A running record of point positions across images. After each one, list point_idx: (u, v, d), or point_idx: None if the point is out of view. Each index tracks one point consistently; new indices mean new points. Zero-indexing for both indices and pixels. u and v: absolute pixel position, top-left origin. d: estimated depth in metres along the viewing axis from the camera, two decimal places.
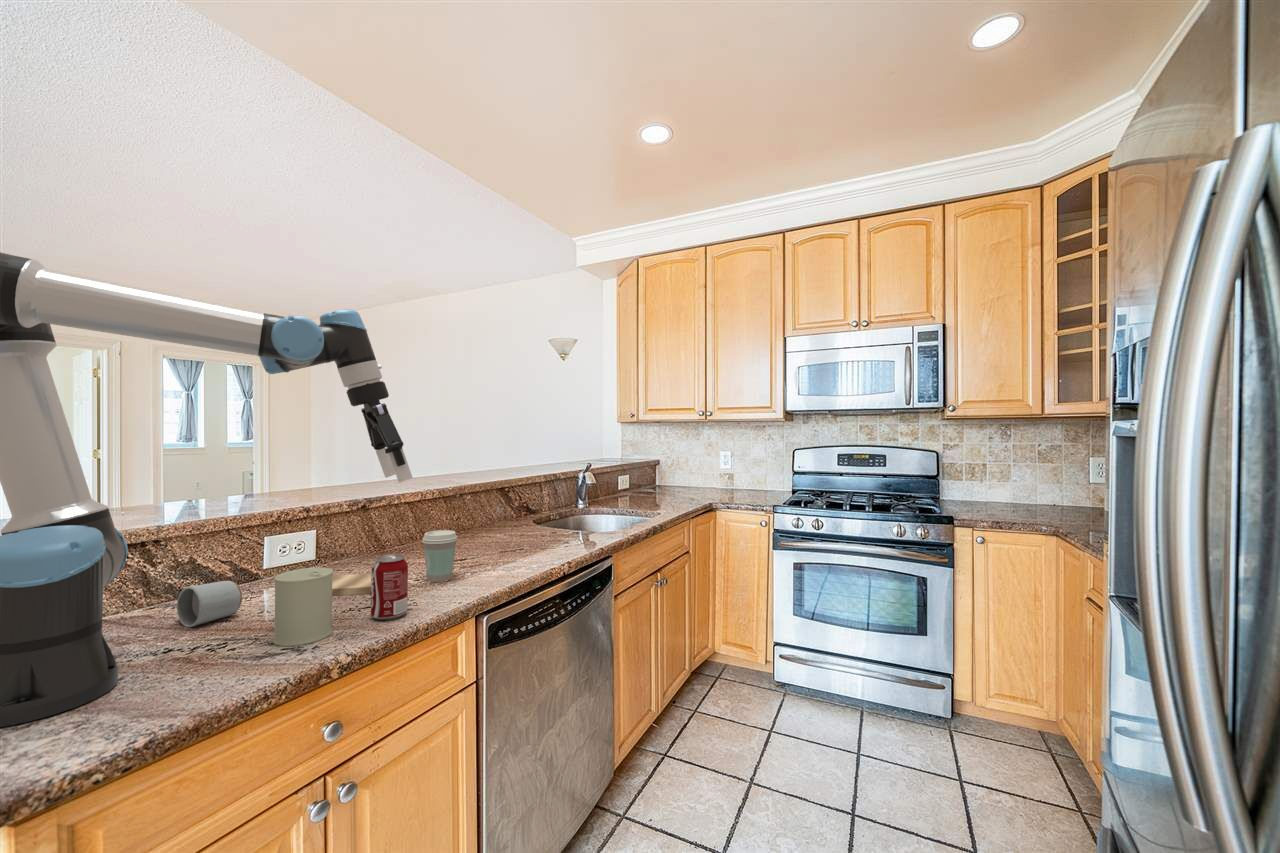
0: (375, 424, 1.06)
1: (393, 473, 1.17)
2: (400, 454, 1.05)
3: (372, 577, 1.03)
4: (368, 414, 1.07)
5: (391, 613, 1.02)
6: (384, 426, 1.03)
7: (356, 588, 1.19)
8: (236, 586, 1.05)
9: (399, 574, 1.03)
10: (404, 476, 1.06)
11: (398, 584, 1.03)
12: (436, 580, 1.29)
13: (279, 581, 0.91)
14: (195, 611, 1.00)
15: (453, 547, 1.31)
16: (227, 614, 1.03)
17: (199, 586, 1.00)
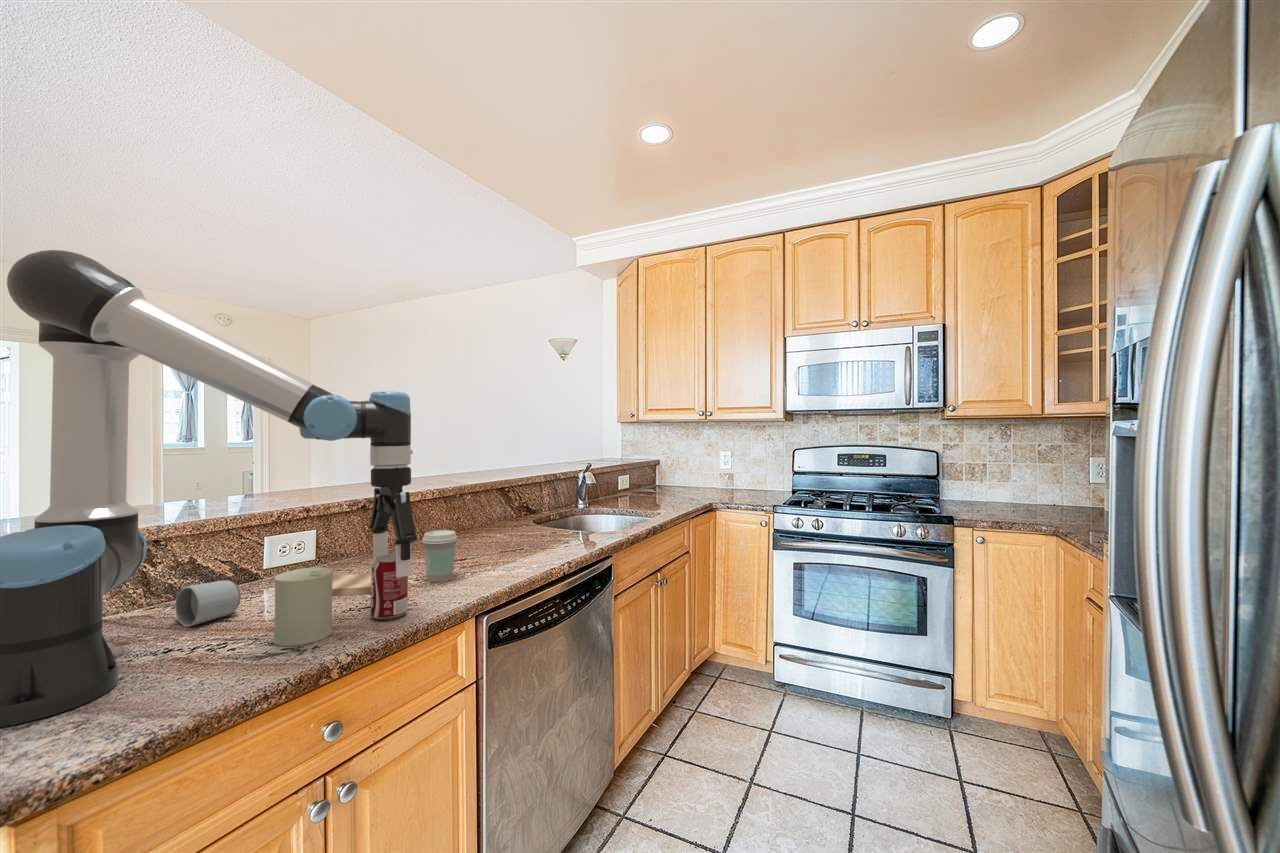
0: (391, 510, 1.02)
1: None
2: (408, 548, 1.00)
3: (372, 577, 1.03)
4: (386, 498, 1.03)
5: (391, 613, 1.02)
6: (402, 516, 0.99)
7: (356, 588, 1.19)
8: (235, 586, 1.05)
9: None
10: (403, 571, 1.00)
11: (398, 584, 1.03)
12: (436, 580, 1.29)
13: (279, 581, 0.91)
14: (194, 611, 1.00)
15: (453, 547, 1.31)
16: (225, 614, 1.03)
17: (198, 586, 1.00)
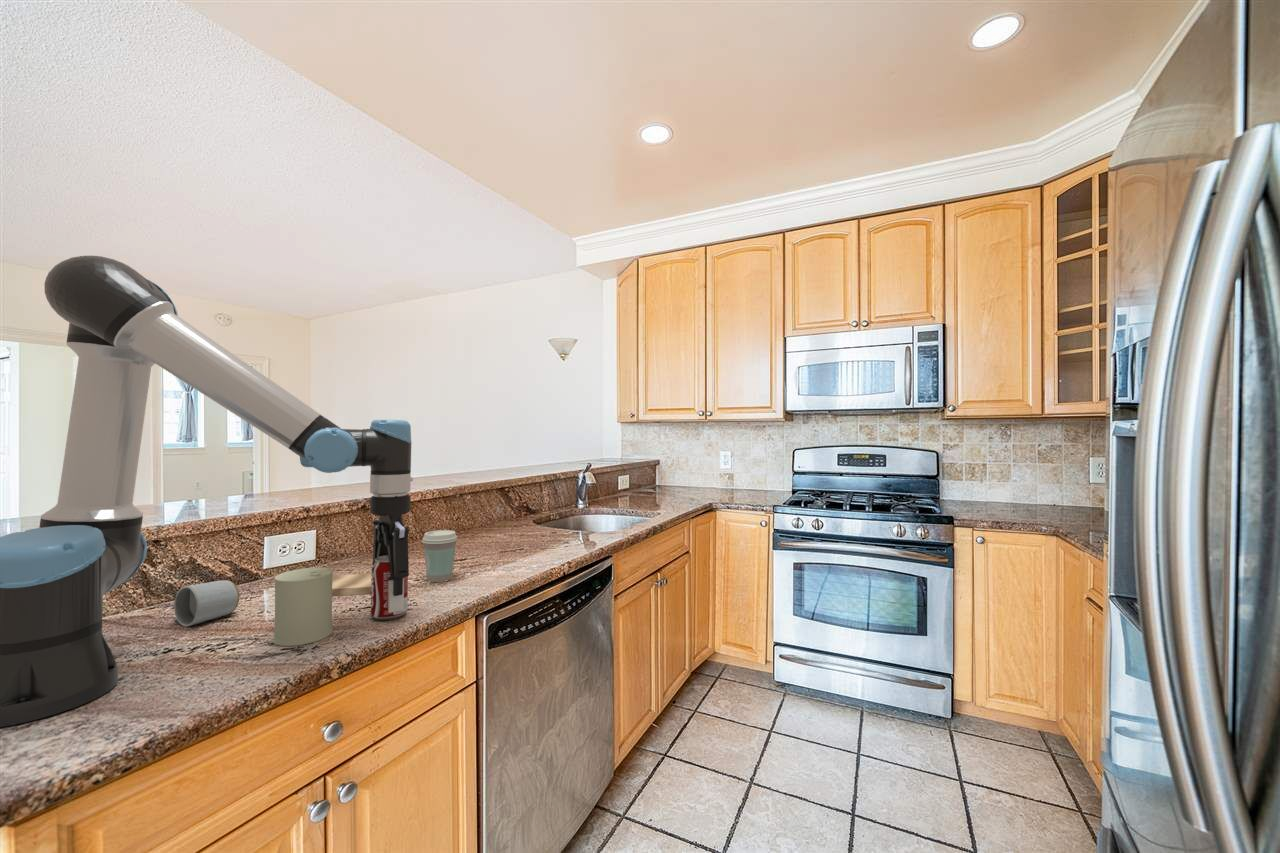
0: (388, 542, 1.02)
1: None
2: (401, 584, 1.02)
3: (372, 577, 1.03)
4: (385, 528, 1.03)
5: (391, 613, 1.02)
6: (398, 552, 1.00)
7: (356, 588, 1.19)
8: (233, 585, 1.05)
9: None
10: (396, 606, 1.02)
11: None
12: (436, 580, 1.29)
13: (279, 581, 0.91)
14: (192, 610, 1.01)
15: (453, 547, 1.31)
16: (224, 613, 1.03)
17: (196, 585, 1.00)
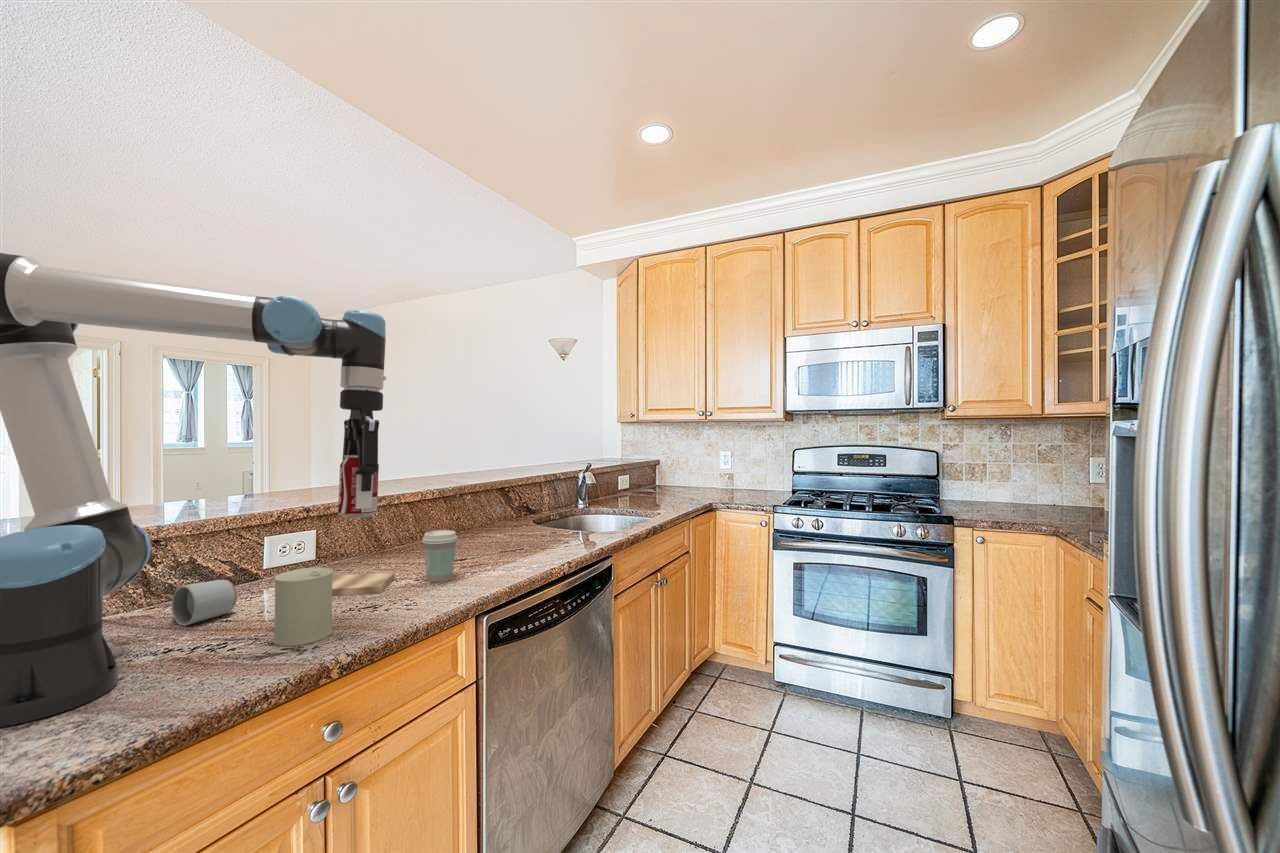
0: (357, 437, 0.99)
1: None
2: (369, 479, 0.98)
3: (340, 473, 0.99)
4: (355, 422, 0.99)
5: (359, 510, 0.98)
6: (367, 445, 0.96)
7: (356, 588, 1.19)
8: (231, 585, 1.05)
9: None
10: (363, 503, 0.98)
11: None
12: (436, 580, 1.29)
13: (279, 581, 0.91)
14: (190, 610, 1.01)
15: (453, 547, 1.31)
16: (222, 613, 1.04)
17: (194, 585, 1.01)
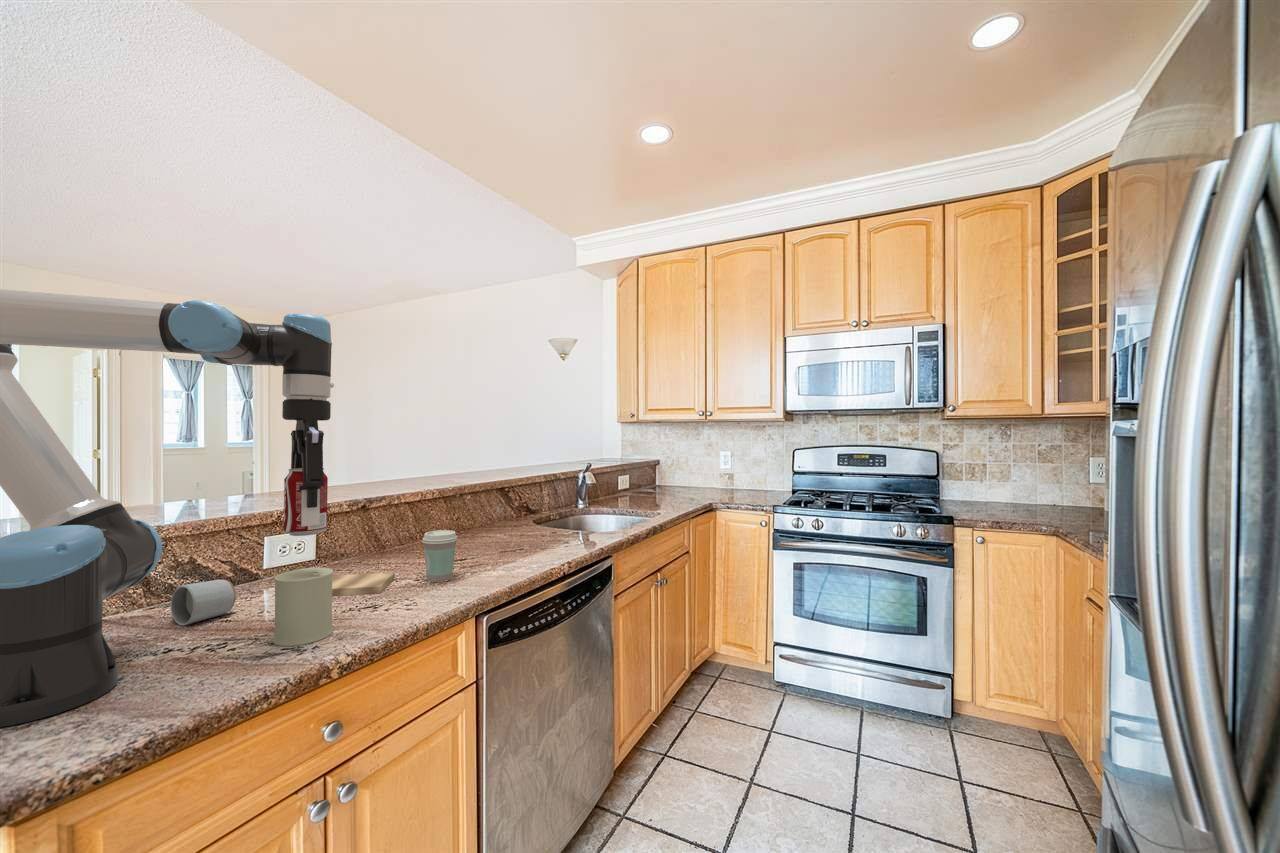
0: (301, 449, 0.92)
1: None
2: (315, 495, 0.91)
3: (284, 489, 0.93)
4: (298, 433, 0.93)
5: (305, 527, 0.92)
6: (311, 458, 0.90)
7: (356, 588, 1.19)
8: (230, 585, 1.06)
9: None
10: (310, 520, 0.92)
11: None
12: (436, 580, 1.29)
13: (279, 581, 0.91)
14: (189, 609, 1.01)
15: (453, 547, 1.31)
16: (221, 612, 1.04)
17: (193, 585, 1.01)
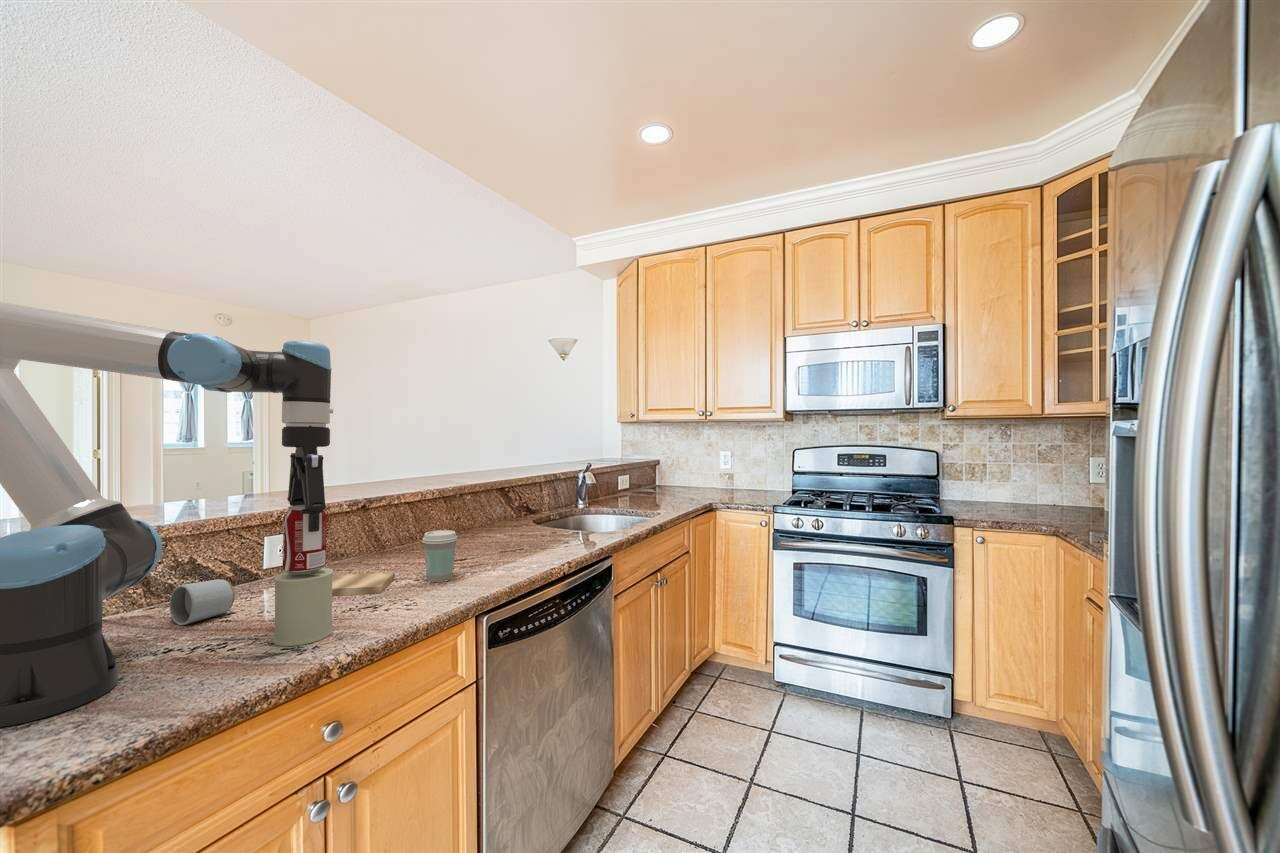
0: (301, 475, 0.92)
1: None
2: (317, 518, 0.90)
3: (283, 527, 0.92)
4: (298, 460, 0.93)
5: (304, 567, 0.92)
6: (311, 482, 0.89)
7: (356, 588, 1.19)
8: (229, 584, 1.06)
9: None
10: (311, 544, 0.90)
11: None
12: (436, 580, 1.29)
13: (279, 581, 0.91)
14: (188, 609, 1.01)
15: (453, 547, 1.31)
16: (220, 612, 1.04)
17: (192, 584, 1.01)
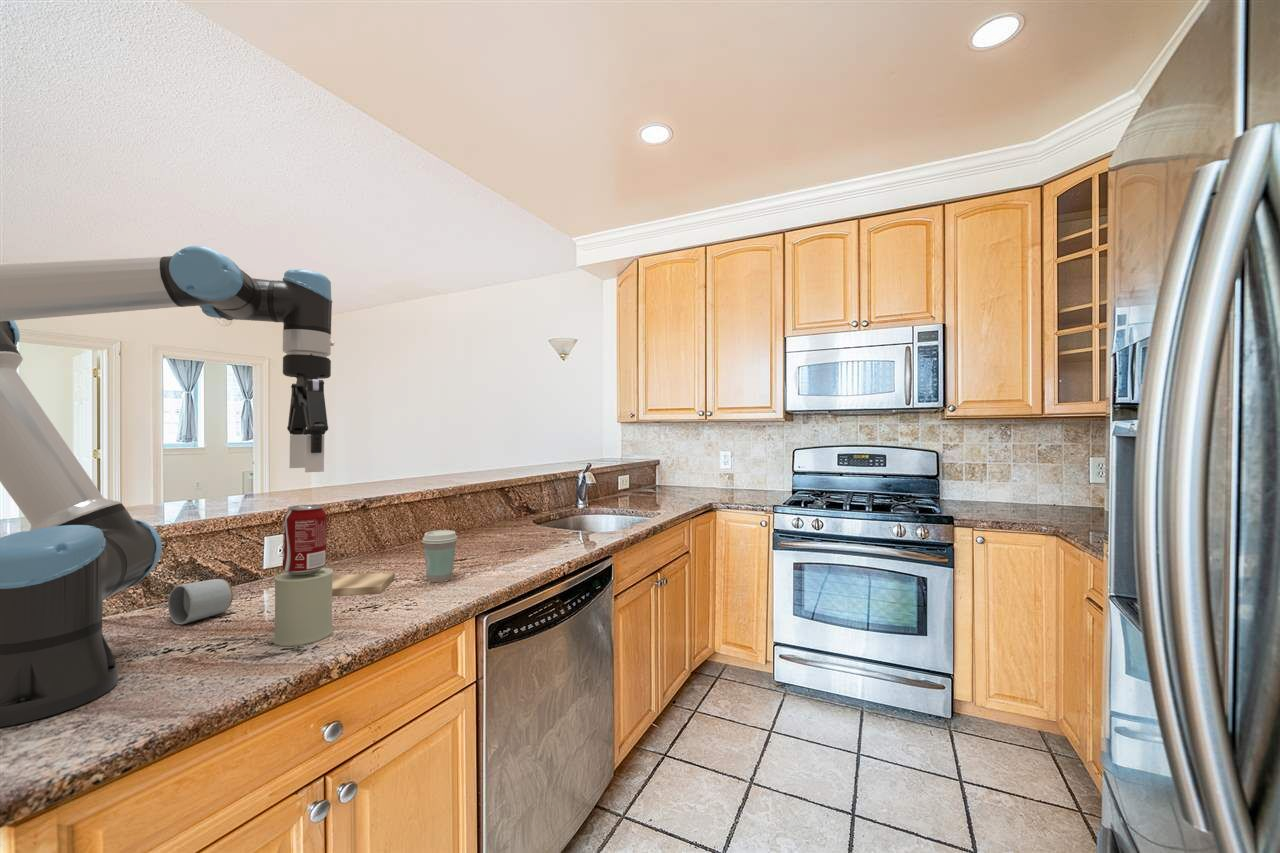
0: (303, 400, 0.92)
1: (301, 465, 1.00)
2: (319, 440, 0.89)
3: (283, 527, 0.92)
4: (299, 388, 0.93)
5: (304, 567, 0.92)
6: (313, 403, 0.89)
7: (356, 588, 1.19)
8: (227, 584, 1.06)
9: (314, 524, 0.93)
10: (314, 466, 0.90)
11: (313, 535, 0.93)
12: (436, 580, 1.29)
13: (279, 581, 0.91)
14: (186, 609, 1.01)
15: (453, 547, 1.31)
16: (218, 612, 1.04)
17: (190, 584, 1.01)
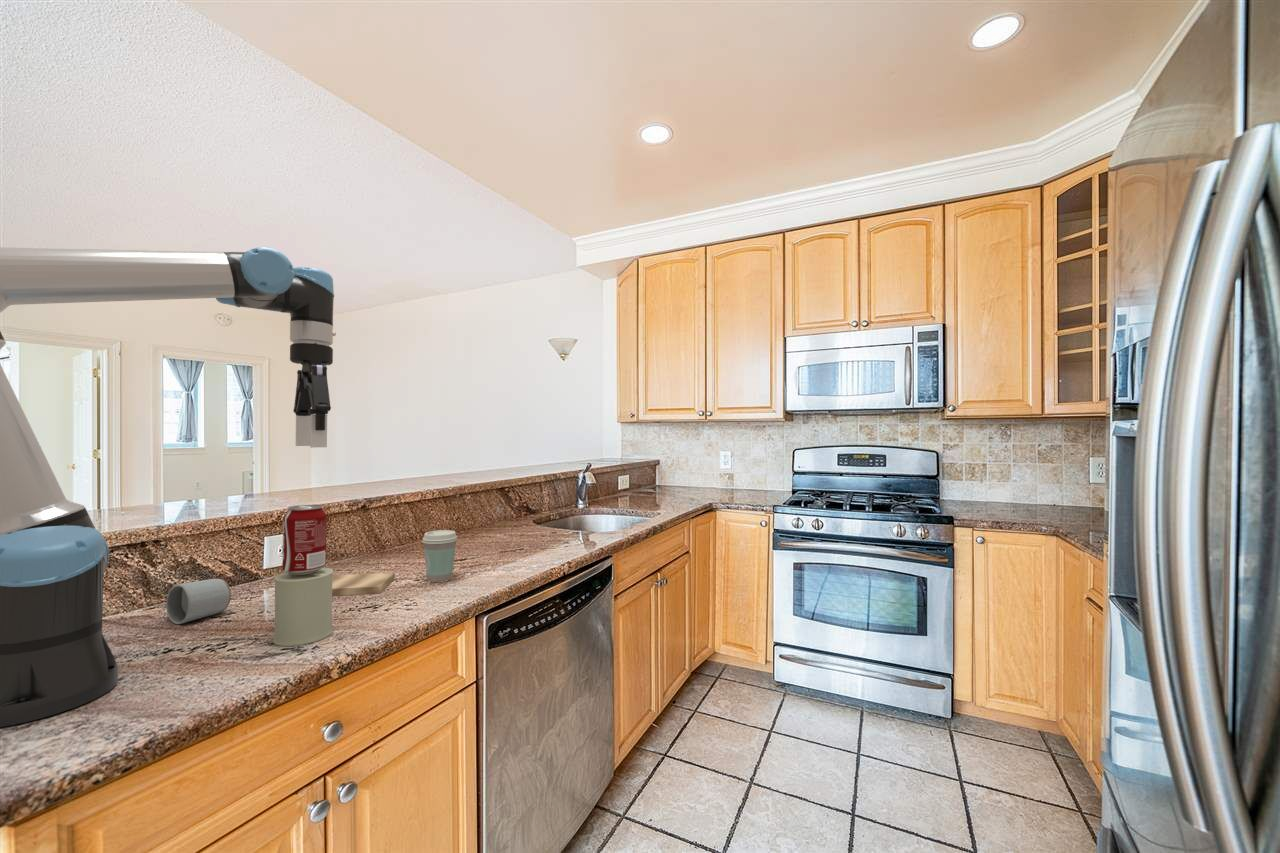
0: (308, 384, 1.03)
1: (305, 444, 1.11)
2: (323, 419, 1.01)
3: (283, 527, 0.92)
4: (304, 373, 1.04)
5: (304, 567, 0.92)
6: (317, 386, 1.00)
7: (356, 588, 1.19)
8: (225, 584, 1.06)
9: (314, 524, 0.93)
10: (318, 442, 1.01)
11: (313, 535, 0.93)
12: (436, 580, 1.29)
13: (279, 581, 0.91)
14: (184, 608, 1.02)
15: (453, 547, 1.31)
16: (216, 611, 1.04)
17: (188, 584, 1.01)
